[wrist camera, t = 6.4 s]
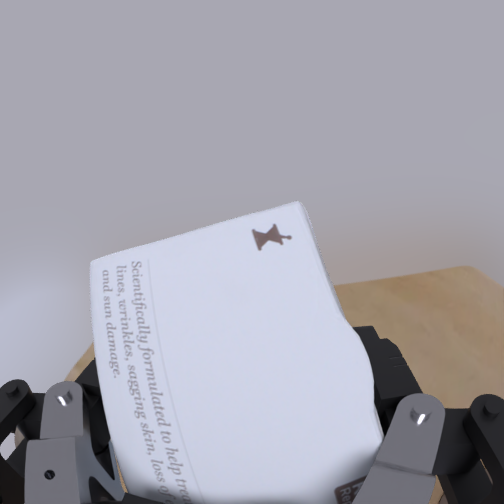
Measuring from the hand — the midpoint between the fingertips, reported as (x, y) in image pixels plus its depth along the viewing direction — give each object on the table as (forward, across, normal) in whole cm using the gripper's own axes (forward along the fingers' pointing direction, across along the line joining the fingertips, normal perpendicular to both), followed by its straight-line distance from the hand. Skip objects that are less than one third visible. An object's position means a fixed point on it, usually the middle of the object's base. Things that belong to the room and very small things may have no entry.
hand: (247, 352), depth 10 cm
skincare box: (+6, 0, +8) cm, 11 cm away
